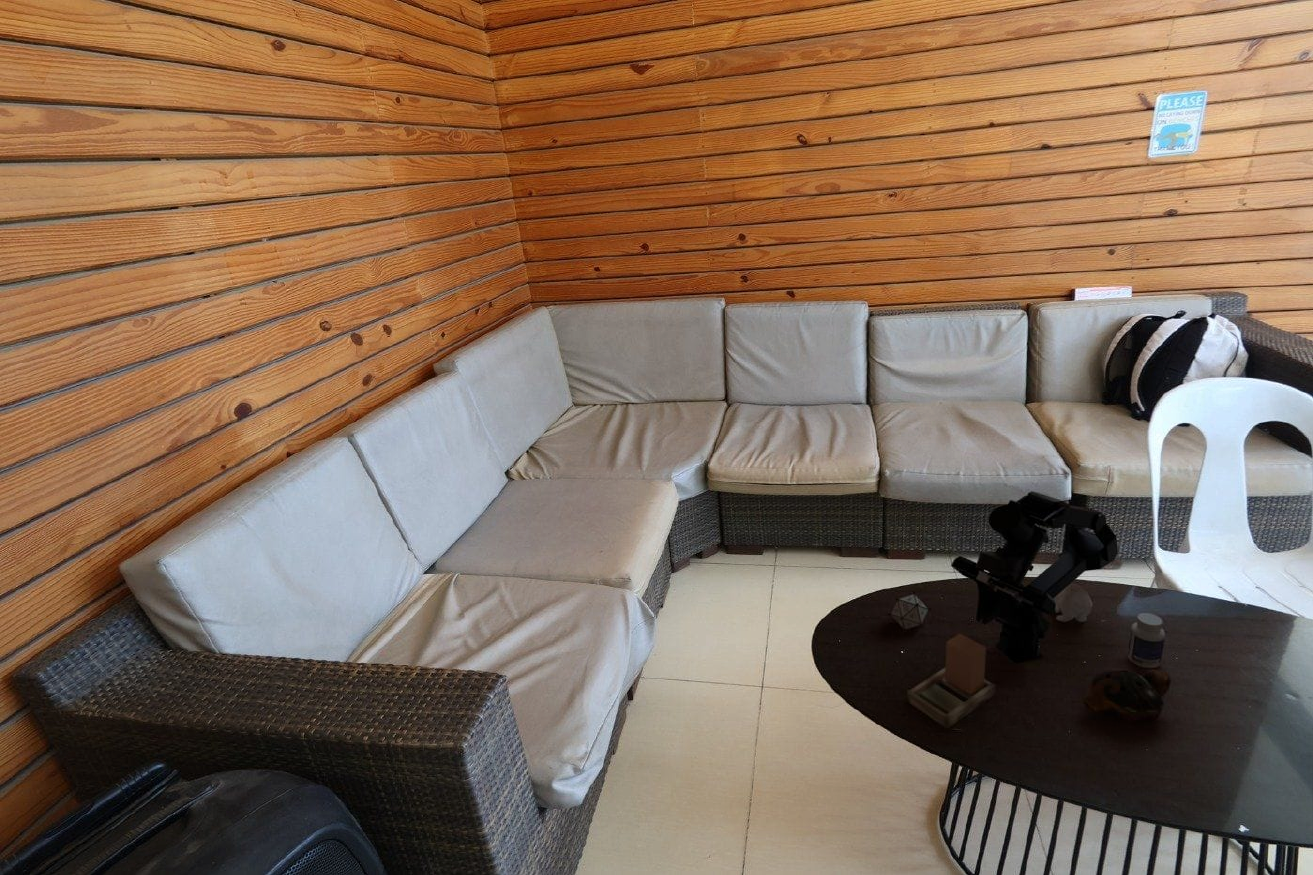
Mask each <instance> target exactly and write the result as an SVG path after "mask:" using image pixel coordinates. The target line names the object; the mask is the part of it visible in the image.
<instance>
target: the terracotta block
mask: <svg viewBox="0 0 1313 875" xmlns="http://www.w3.org/2000/svg"><path fill="white" fill-rule="evenodd" d="M945 644H946V645H945V667H944V668H945V680H946V681H948V682H950V683H951V684H953V685H955V686H956V687H958V688H960V689H961V690H963V691H964V692H966V693H968V694H969V695H971V694H973V693H974V692H976V691H977V690H979V689H980V688H982V687H983V686H984V679H985V670H986V668H985V667H986V651H987V647H985V646H984V645H982V644H980V643H979V642H976V641H974V640H972V639H970V638H969V637H967V636H965V635H963V634H961V633H958V634H956V635H955V636H953V637H952V638H951V639H949V640H947V641H946V643H945Z"/></svg>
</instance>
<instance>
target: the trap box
mask: <svg viewBox="0 0 1313 875" xmlns="http://www.w3.org/2000/svg"><path fill="white" fill-rule="evenodd" d="M995 695H996V685H995V684H994V683H992V682H990V681H989V680H988V679H985V678H984V686H983V687H982V688H980V689H979V690H977V691H976V692H974V693H973V694H971V695H969V694H968V693H966V692H964V691H963V690H961V689H960V688H958V687H956V686H955V685H953V684H951V683H950V682H948V681H946V680H945V667H944V668H942V669H941V670H939V671H938V672H936V673H934V674H933V675H931V676H929V677H928V678H926V679H925V680H923V681H922V682H920V683H919V684H918V685H916V686H914V687H913V688H911V689H909V690H908V691H907V692H906V702H908V703H909V704H910V705H912V706H914V708H916V709H918V710H919V711H920V712H922V713H923V714H925V715H927V716H929V717H930V718H931V719H933V720H934V721H935V722H936V723H938V724H940V725H941V726H943V727H944V728H945V729H949V728H950V727H952V726H953V725H954V724H956V723H957V722H959V721H961V719H963V718H964V717H966V716H967V715H968V714H970V713H972V712H973V711H974V710H976V709H977V708H978V707H980V706H981V705H982V704H984V703H985V702H987V701H988V700H990V698H992V697H994V696H995Z"/></svg>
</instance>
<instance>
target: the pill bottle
mask: <svg viewBox="0 0 1313 875" xmlns="http://www.w3.org/2000/svg"><path fill="white" fill-rule="evenodd" d="M1135 620H1136V622H1134V623H1132V625H1131V626H1130V627H1131V628H1130V633H1129V634H1130V635H1129V642H1128V650H1127V658H1128V659H1129V661H1130V662H1132V663H1133V664H1135V665H1137V666H1138V667H1142V668H1144V669H1145V668H1146V669H1155V668H1158V667H1160V665H1161V662H1162V656H1163V650H1164V645H1165V640H1166V639H1165V638H1166V633H1165V630H1164V629H1163V620H1162V618H1161V617H1159V616H1158V615H1156V614H1153V613H1148V612H1147V613H1146V612H1142V613H1139V614H1138V615H1137V617H1136V619H1135Z"/></svg>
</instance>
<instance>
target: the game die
mask: <svg viewBox="0 0 1313 875" xmlns="http://www.w3.org/2000/svg"><path fill="white" fill-rule="evenodd" d="M894 598H895V600H896V601H895V602H894V604H893V607H892V609H891V612H889V613H886V616H888V617H889V616H891V617H892V618H893V619H894V620H895V621H896V622H897V624H898V625H899V626H900V627H901V628H902V629H903V630H902V632H903V634H905V633H906V630H909V629H913V628H916V627H922V628H924V627H925V625H924V624H923V623H924V620H925V618H926V616H927V615H928V613H929V611H932V610H933V608H932V607H927V606H926V605H925V604H924V602H923V601H921V599H920V598H919V597H918V596H917V595H916V590H913V591H912V593H911V594H909V595H908V594H907V595H905V596H903V597H902V596H901V597H898V596H894Z"/></svg>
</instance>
